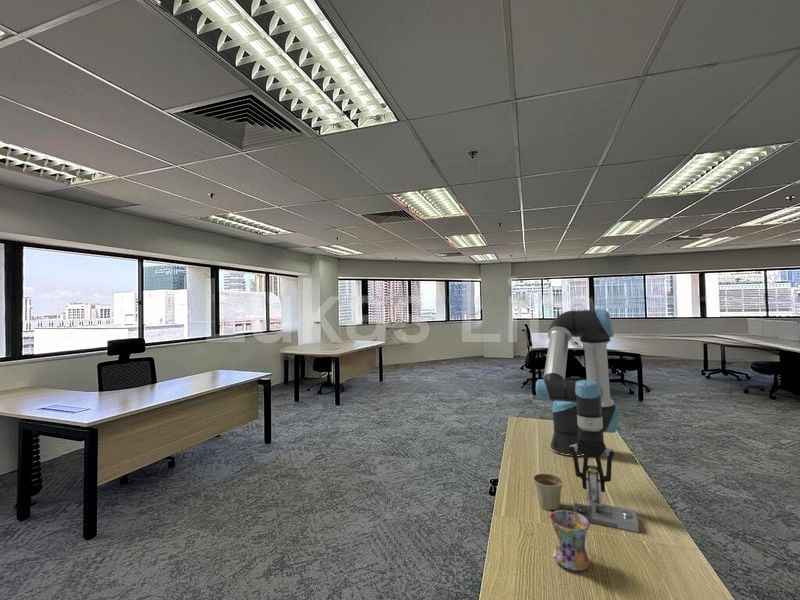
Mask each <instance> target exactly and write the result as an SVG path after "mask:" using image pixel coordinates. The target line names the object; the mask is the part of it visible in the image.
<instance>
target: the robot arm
mask: <svg viewBox="0 0 800 600" xmlns="http://www.w3.org/2000/svg"><path fill="white" fill-rule="evenodd" d="M614 334H615V333H614V328H613V322H612V319H611V315H610V313H609V311H608V310H605V309H587V310H586V309H584V310H583V309H582V310H568V311H565V312H562V313H560V314H559V315H558V316H556V317H555V318H554V319H553V321H552V322H551V323H550V325H549V327H548V330H547V337H548V339H549V341H548V347H547V354H546V360H545V365H544V366H545V367H544V373H543V378H541V379H537V380H536V382H535V394H536V396H537V398H538V399H539V400H545V401H550V402H551V401H553V403H552V421H553V422H552V423H553V435H552V439H551V442H550V449H551V448H552V449H553V450H555V451H557V452H559V453H564V454H570V455H573V456H572V459H573V460H572V461H573V465H574V466H573V467H574V470H575V471H574V472H575V476H576V478H580V479H581V480H582V488H583V490H586V501H587V502H590V494H589V480H588V471H587V466H588V463H589V458H593V459H595V462H596V467H598V472H599V473H598V491H599V503H600V504H602V503H603V499H602V493H605V492H606V482H608V483H610V482H611V481H612V466H613V465H612V461H613V457H614V456H615V450H614V449H613V448H608V447H607V446H606V444H605V441H604V434H605V433H609V434H611V433H612V434H614V433H616V432H617V431H618V424H619V412H620V410H619V408H620V407H619V406H618V405H615V401H614V399H612V398H611V391H610V389H611V388H610V378H609V377H610V376H609V374H610V373H609V361H608V349H607V347H608V344H609V343H610V342H611V338H613V337H614V336H615V335H614ZM572 338H579V342H580V343H581V344H582V345H583V347H584V358H585V360H584V361H585V372H586V374H585V375H586V379H581V380H577V381H576V380H566V371H567V362H568V361H567V360H568V351H569V350H568V349H569V342H570V341H571V339H572ZM604 452H605V455H606V470H605V471H606V472H605V473H606V474H605V475H604V470H603V467H602V465H603V464H602V461H601V456H602V455H603V453H604ZM581 454H584V455H583V462H582V464H583V465H582V472H581V470H580V469H581V468H580V463H579V458H578V457H579V456H577V455H581Z"/></svg>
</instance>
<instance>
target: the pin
mask: <svg viewBox="0 0 800 600" xmlns="http://www.w3.org/2000/svg"><path fill="white" fill-rule="evenodd" d="M587 477H588V480H589V494H590V501H589V506H592V503H597V504H601V503H599V491H598V479H599V472H598V467H597V465H591V464H589V465H588V464H587Z"/></svg>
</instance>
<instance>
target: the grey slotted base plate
mask: <svg viewBox="0 0 800 600" xmlns="http://www.w3.org/2000/svg"><path fill="white" fill-rule="evenodd" d="M572 512H576V513H578V514H580V515H582V516H584V517H585V518H586V519H587V520H588V521H589V524H590V523H591V524H594V525H595V524H596V525H598V526H599V525H600V526H604V527H609V528H613V529H614V528H615V529H620V530H623V531H624V530H626V531H630V532H633V533H634V532H635V533H640V531H639V522H638V517H637V513H636V509H629V508H625V507H618V506H613V505H608V504H602V503H600V504H597V503H592V506H591V505H587V504H582V503H575V502H574V503H573V511H572Z"/></svg>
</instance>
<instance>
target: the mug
mask: <svg viewBox="0 0 800 600" xmlns="http://www.w3.org/2000/svg"><path fill="white" fill-rule="evenodd" d="M549 520H550V522H551V525H552V526H553V527H552V528H553V530H554V534H555V541H556V543H555V549H554V551H553V554H552V555H553V559H554V560H555V561H556V563H557V564H558V565H560V566H561V567H563V568H565V569H567V570H570V571H575V572H580V571H585V570H587V569H588V568H589V567H590V566H591V565H590V564H591V561H590V558H589V557H588V553H587V551H586V536H587V533H588V530H589V528H590V522H589V521H588V520H587V519H586V518H585V517H584V516H582V515H580V514H578V513H576V512H573V511H571V510H566V509H565V510H564V509H560V510H559V509H558V510H554V511H552V512H551V513H550V515H549Z"/></svg>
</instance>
